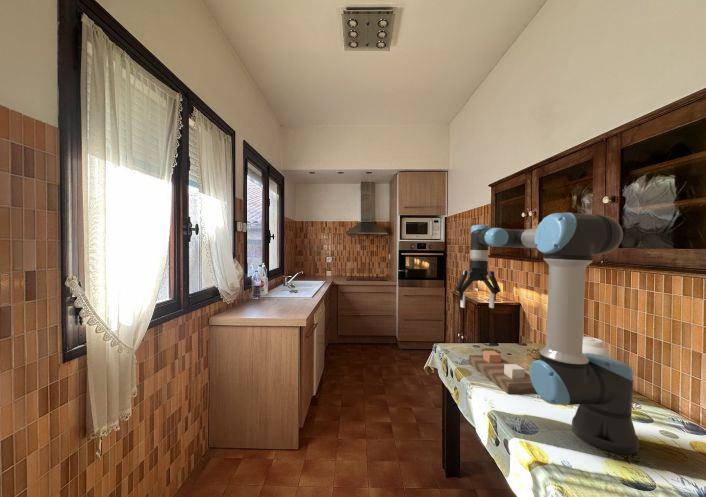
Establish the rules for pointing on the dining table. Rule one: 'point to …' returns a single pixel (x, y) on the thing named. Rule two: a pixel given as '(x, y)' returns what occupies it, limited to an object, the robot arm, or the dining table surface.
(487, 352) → the orange block
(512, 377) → the cream block
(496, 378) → the wooden board
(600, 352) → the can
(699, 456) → the dining table surface
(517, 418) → the dining table surface
